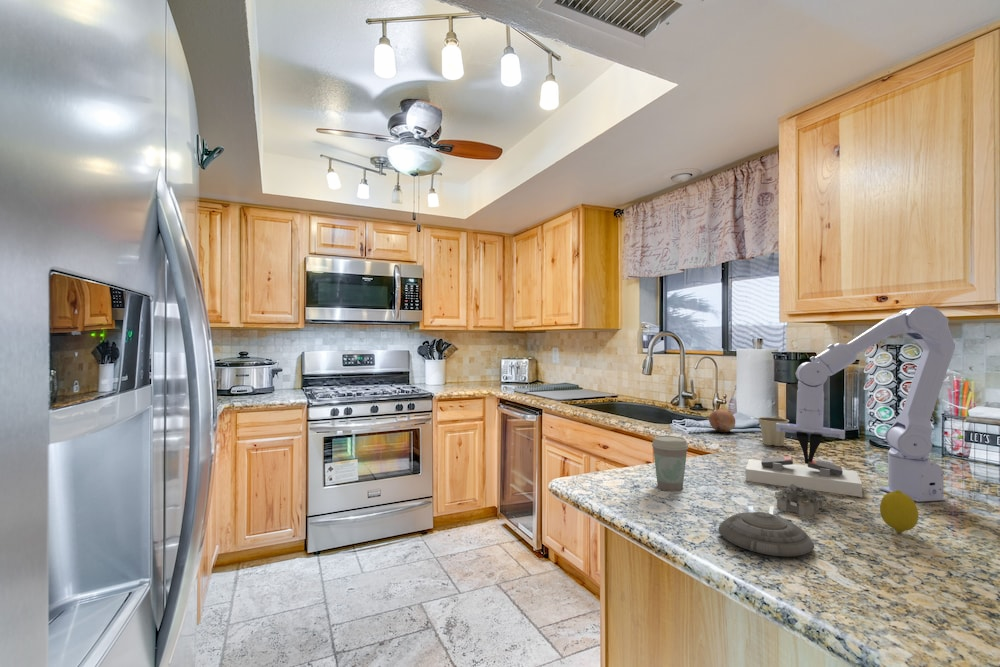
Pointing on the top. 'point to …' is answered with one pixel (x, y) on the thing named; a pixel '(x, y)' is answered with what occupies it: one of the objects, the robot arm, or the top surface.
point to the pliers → (827, 461)
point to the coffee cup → (670, 461)
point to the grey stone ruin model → (799, 500)
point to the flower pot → (772, 431)
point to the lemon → (899, 511)
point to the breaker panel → (804, 477)
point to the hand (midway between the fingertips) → (808, 463)
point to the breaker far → (777, 461)
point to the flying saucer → (766, 534)
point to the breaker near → (825, 467)
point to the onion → (722, 420)
